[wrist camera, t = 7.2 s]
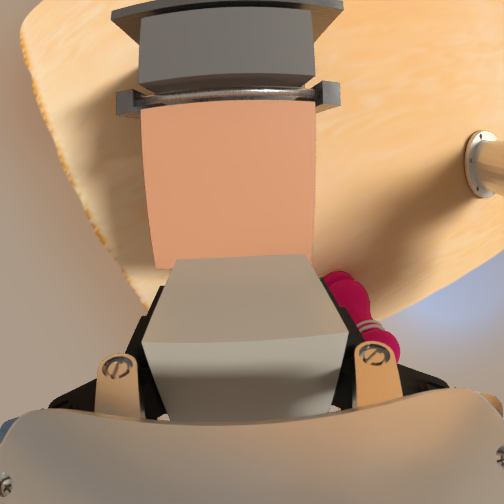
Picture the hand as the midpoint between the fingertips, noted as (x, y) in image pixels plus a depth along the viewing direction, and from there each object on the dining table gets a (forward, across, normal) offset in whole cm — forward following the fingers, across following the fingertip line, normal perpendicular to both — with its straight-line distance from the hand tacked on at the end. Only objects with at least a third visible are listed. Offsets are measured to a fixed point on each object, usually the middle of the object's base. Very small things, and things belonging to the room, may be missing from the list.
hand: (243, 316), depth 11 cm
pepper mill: (+28, -15, +15) cm, 35 cm away
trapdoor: (+16, +1, -7) cm, 18 cm away
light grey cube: (+1, 0, 0) cm, 1 cm away
